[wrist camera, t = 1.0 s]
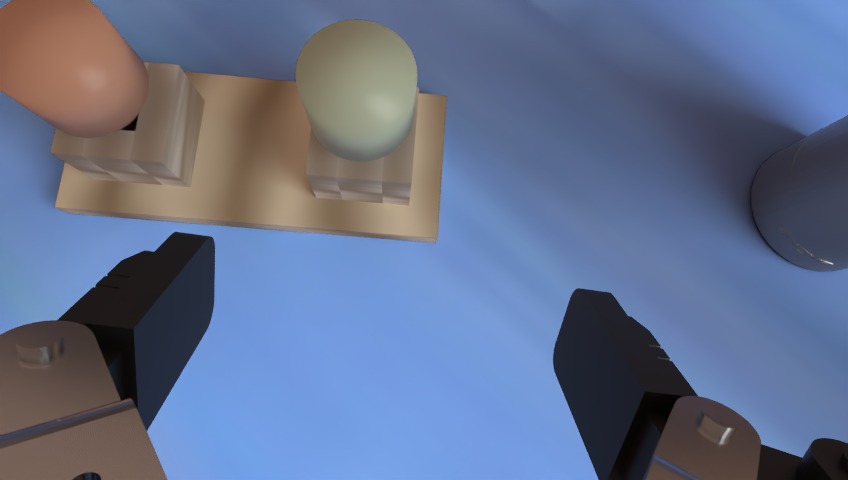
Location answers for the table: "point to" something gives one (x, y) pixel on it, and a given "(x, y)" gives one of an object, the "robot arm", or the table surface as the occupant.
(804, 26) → the table surface
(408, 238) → the button board
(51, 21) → the brown rounded piece
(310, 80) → the pale green rounded knob
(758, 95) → the table surface
